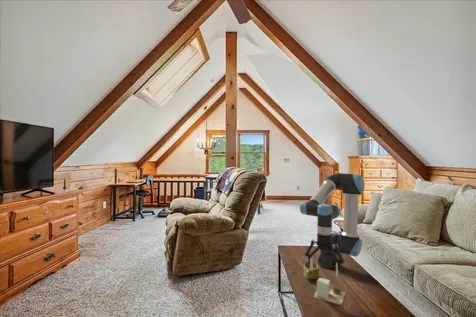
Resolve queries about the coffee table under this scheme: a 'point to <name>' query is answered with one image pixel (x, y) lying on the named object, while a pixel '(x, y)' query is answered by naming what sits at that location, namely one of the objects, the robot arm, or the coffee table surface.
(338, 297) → the board
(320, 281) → the pale green block
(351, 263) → the coffee table surface
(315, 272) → the mug
